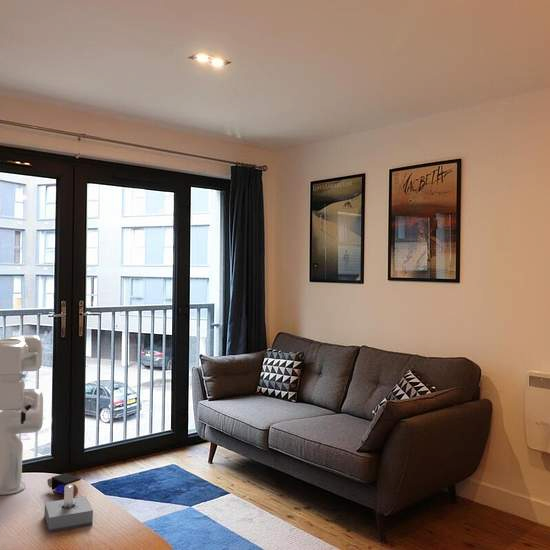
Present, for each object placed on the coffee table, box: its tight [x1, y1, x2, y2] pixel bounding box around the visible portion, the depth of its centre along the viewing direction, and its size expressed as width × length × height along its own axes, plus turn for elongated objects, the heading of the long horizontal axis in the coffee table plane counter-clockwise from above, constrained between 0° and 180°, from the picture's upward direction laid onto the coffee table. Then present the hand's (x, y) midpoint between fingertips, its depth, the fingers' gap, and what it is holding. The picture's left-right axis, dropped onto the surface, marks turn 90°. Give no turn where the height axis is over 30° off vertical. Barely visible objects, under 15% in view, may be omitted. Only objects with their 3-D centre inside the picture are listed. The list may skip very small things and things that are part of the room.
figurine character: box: [46, 472, 82, 498], centre depth 216 cm, size 7×8×15 cm
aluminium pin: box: [63, 484, 74, 509], centre depth 192 cm, size 3×3×11 cm
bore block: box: [43, 495, 94, 533], centre depth 192 cm, size 14×14×5 cm
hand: (7, 424), depth 200 cm, fingers open, 9 cm apart
